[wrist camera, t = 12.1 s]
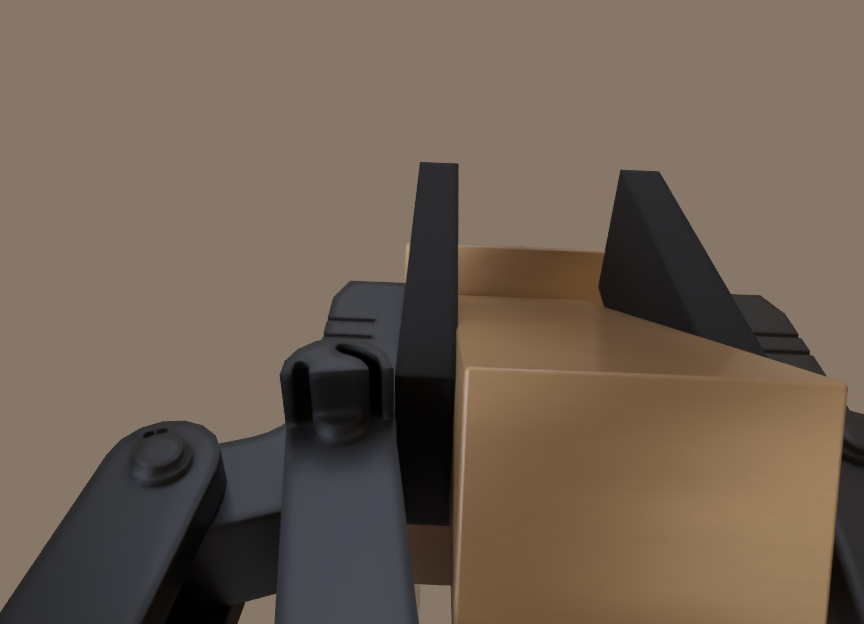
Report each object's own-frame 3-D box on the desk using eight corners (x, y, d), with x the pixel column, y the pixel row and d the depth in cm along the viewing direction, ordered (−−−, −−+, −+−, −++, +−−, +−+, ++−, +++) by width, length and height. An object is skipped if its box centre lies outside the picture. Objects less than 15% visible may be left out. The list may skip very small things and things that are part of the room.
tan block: (325, 637, 6) (335, 215, 6) (414, 344, 26) (418, 246, 26) (955, 666, 6) (1001, 242, 6) (560, 350, 26) (565, 252, 26)
